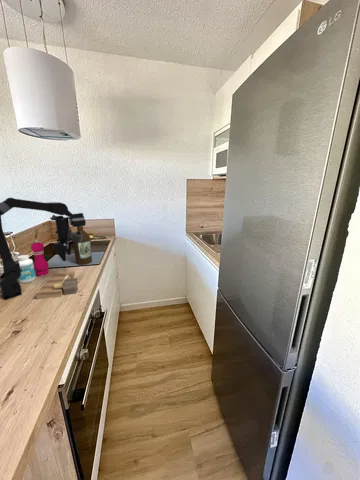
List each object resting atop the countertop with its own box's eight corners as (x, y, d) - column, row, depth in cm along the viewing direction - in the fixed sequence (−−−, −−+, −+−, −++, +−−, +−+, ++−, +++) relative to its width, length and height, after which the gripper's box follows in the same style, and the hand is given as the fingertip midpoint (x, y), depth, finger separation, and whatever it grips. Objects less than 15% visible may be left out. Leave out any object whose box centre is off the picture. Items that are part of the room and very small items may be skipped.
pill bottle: (16, 284, 105) (10, 259, 102) (22, 278, 112) (17, 254, 109) (33, 282, 107) (28, 257, 104) (38, 276, 114) (34, 253, 111)
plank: (61, 296, 94) (60, 291, 93) (36, 299, 92) (35, 293, 91) (74, 275, 116) (74, 271, 115) (55, 277, 114) (54, 272, 113)
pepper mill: (52, 271, 121) (47, 238, 116) (43, 276, 114) (37, 241, 109) (41, 271, 122) (35, 237, 116) (31, 276, 115) (24, 241, 109)
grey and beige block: (76, 293, 97) (74, 281, 95) (55, 295, 95) (53, 283, 93) (78, 289, 100) (76, 278, 99) (58, 291, 99) (56, 279, 97)
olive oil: (72, 262, 136) (67, 224, 129) (89, 258, 143) (84, 222, 136) (79, 266, 128) (73, 226, 122) (95, 262, 136) (91, 224, 129)
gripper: (76, 231, 97) (80, 263, 101) (84, 224, 114) (87, 251, 118) (49, 232, 94) (54, 264, 98) (61, 225, 111) (65, 252, 115)
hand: (66, 257), depth 107 cm, fingers open, 9 cm apart
